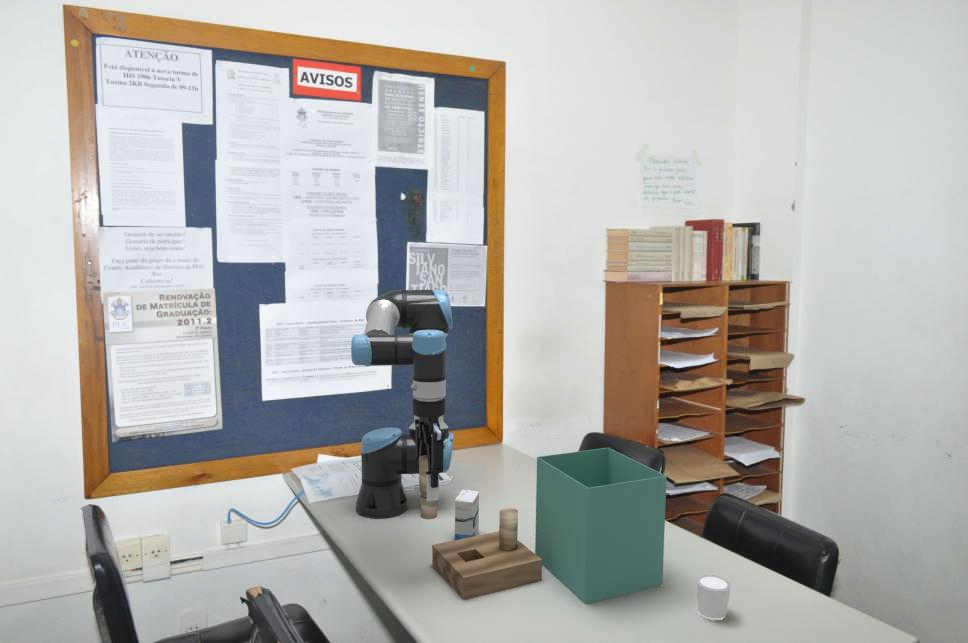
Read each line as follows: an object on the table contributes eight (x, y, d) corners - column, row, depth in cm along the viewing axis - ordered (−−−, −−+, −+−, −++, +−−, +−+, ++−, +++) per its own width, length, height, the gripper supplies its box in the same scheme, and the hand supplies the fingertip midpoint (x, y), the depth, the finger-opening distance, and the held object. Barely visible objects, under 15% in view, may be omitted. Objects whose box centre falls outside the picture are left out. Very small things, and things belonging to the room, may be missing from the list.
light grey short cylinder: (689, 605, 145) (691, 574, 144) (720, 604, 145) (722, 573, 145) (702, 623, 138) (704, 591, 137) (734, 622, 139) (736, 590, 138)
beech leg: (416, 514, 157) (416, 456, 156) (434, 511, 159) (434, 453, 158) (423, 521, 153) (423, 461, 152) (441, 517, 155) (441, 459, 154)
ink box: (472, 546, 173) (472, 501, 172) (453, 544, 174) (454, 500, 173) (479, 532, 181) (479, 490, 180) (461, 530, 182) (461, 488, 181)
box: (535, 558, 166) (536, 456, 164) (605, 544, 175) (608, 447, 172) (584, 604, 145) (587, 488, 142) (662, 585, 153) (666, 476, 151)
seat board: (432, 564, 162) (432, 509, 161) (504, 548, 171) (505, 496, 170) (463, 599, 146) (463, 538, 145) (541, 580, 155) (542, 522, 154)
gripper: (401, 391, 160) (402, 486, 162) (426, 407, 144) (426, 512, 146) (431, 389, 163) (431, 482, 165) (458, 404, 147) (458, 507, 149)
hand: (429, 496), depth 156 cm, fingers closed on beech leg, 4 cm apart
